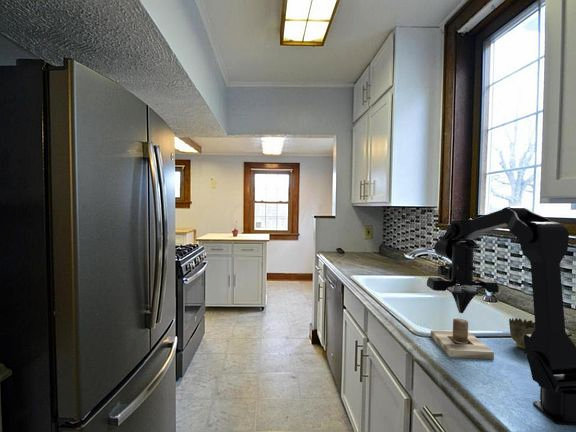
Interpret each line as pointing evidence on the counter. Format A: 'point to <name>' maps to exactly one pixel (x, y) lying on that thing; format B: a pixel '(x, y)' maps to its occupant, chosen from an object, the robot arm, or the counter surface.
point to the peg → (460, 331)
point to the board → (462, 346)
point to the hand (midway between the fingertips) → (460, 312)
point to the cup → (520, 330)
